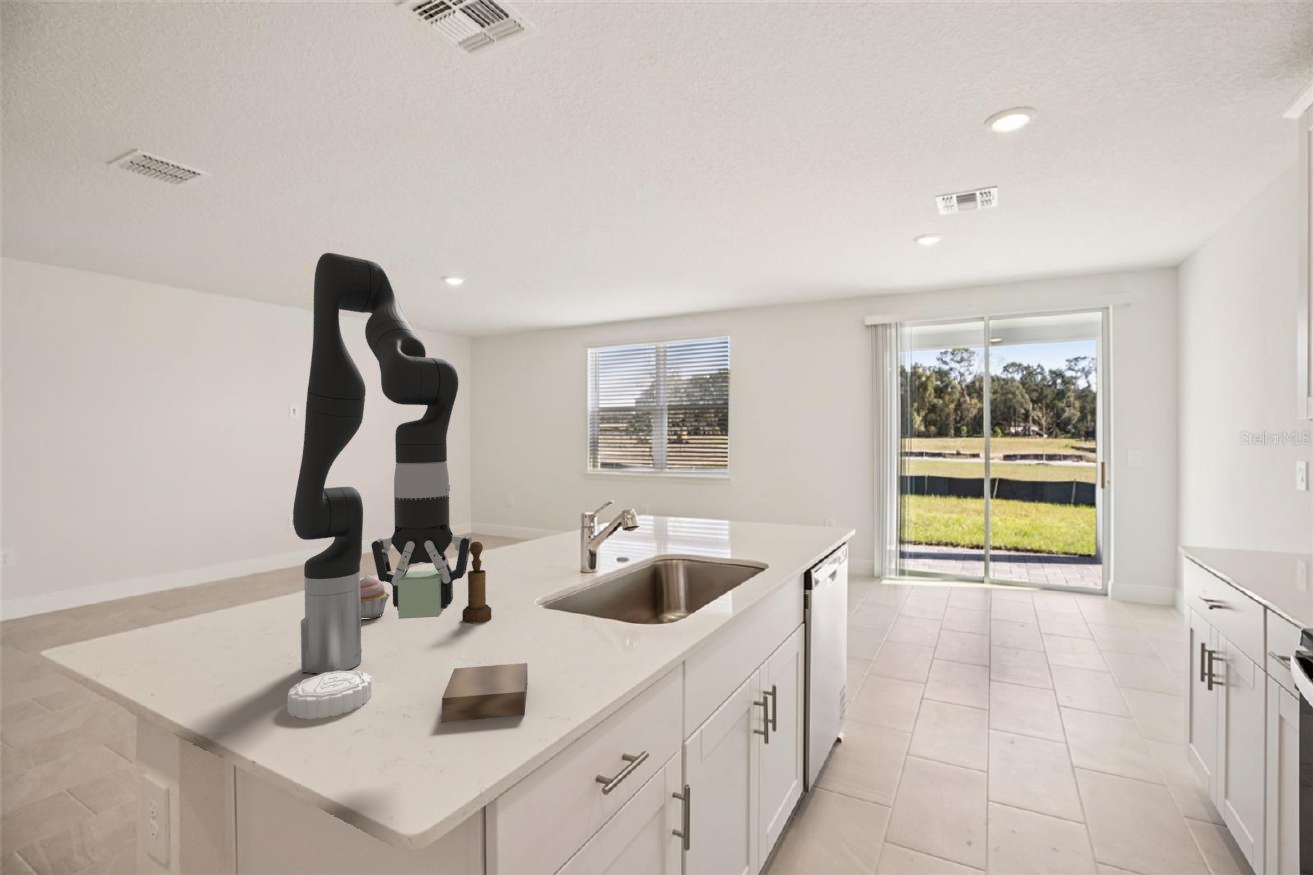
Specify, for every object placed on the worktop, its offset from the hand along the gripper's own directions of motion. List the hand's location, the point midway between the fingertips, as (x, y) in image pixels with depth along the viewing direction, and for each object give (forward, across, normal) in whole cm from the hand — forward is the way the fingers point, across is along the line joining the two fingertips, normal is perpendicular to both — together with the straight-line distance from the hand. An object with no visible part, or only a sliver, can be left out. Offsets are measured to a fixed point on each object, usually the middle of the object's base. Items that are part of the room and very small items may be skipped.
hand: (423, 608), depth 91 cm
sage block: (+1, 0, 0) cm, 1 cm away
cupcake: (+18, -26, +61) cm, 69 cm away
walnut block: (+18, +8, +7) cm, 21 cm away
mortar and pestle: (+18, 0, +54) cm, 57 cm away
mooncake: (+18, -17, +11) cm, 27 cm away
